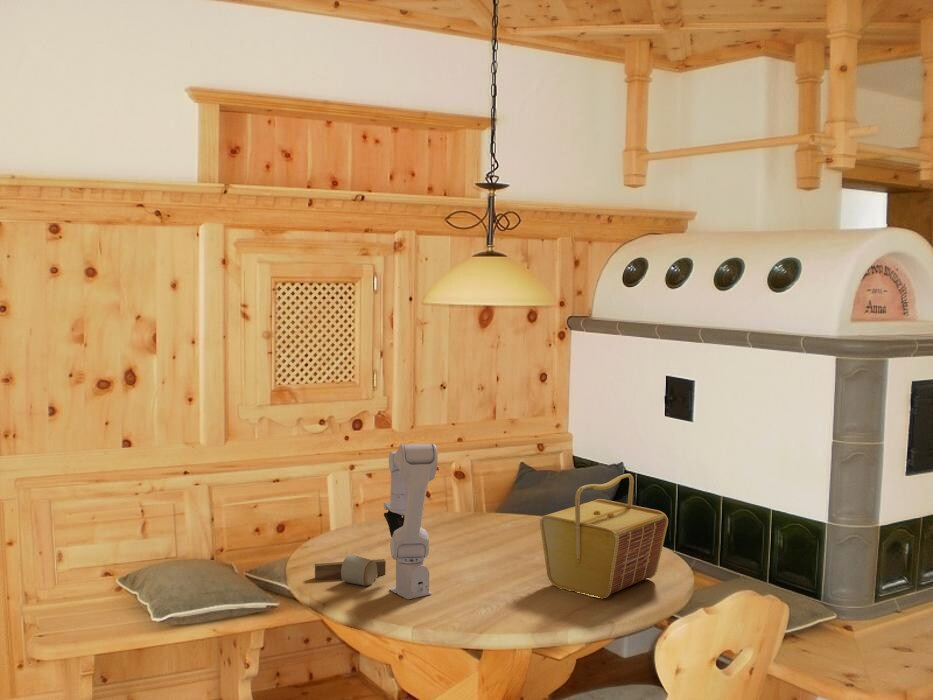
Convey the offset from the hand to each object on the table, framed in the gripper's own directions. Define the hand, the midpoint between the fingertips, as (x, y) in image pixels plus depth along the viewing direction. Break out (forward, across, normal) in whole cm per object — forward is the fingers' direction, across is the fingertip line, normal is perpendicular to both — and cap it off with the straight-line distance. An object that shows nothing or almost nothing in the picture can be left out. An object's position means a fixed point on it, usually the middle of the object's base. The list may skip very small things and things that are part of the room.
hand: (399, 539), depth 288 cm
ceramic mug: (+11, 0, +13) cm, 17 cm away
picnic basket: (+11, -38, -44) cm, 59 cm away
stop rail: (+10, +6, +13) cm, 17 cm away
